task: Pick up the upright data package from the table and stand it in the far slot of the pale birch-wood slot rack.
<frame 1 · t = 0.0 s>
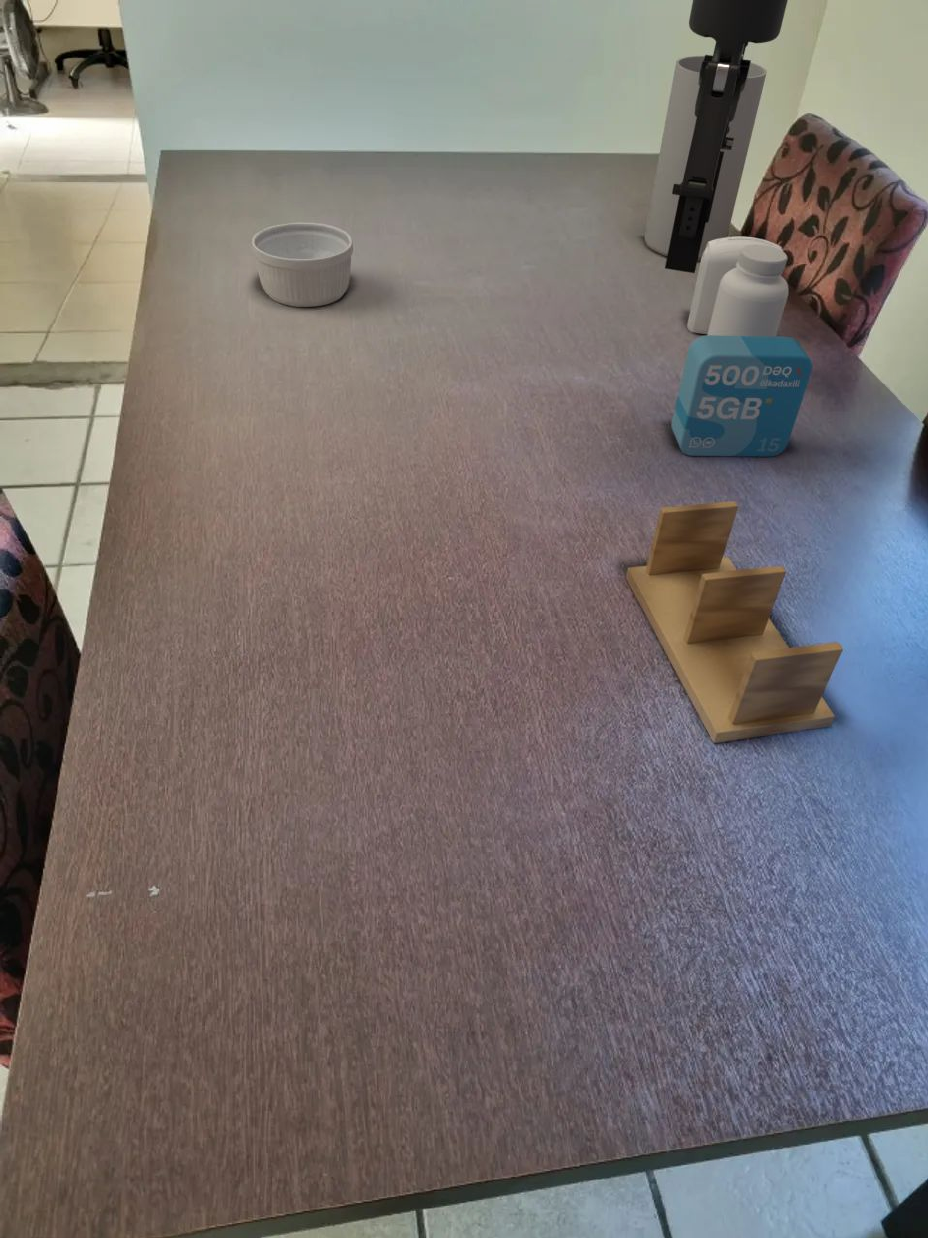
hand: (687, 243, 90), 21 cm above the table, tool pointing down, fingers open, 13 cm apart
data package: (725, 447, 104), on the table
slot rack: (720, 646, 80), on the table
ramekin: (305, 292, 128), on the table
pill bottle: (730, 374, 117), on the table
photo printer: (724, 332, 126), on the table
cylinder vase: (683, 247, 148), on the table
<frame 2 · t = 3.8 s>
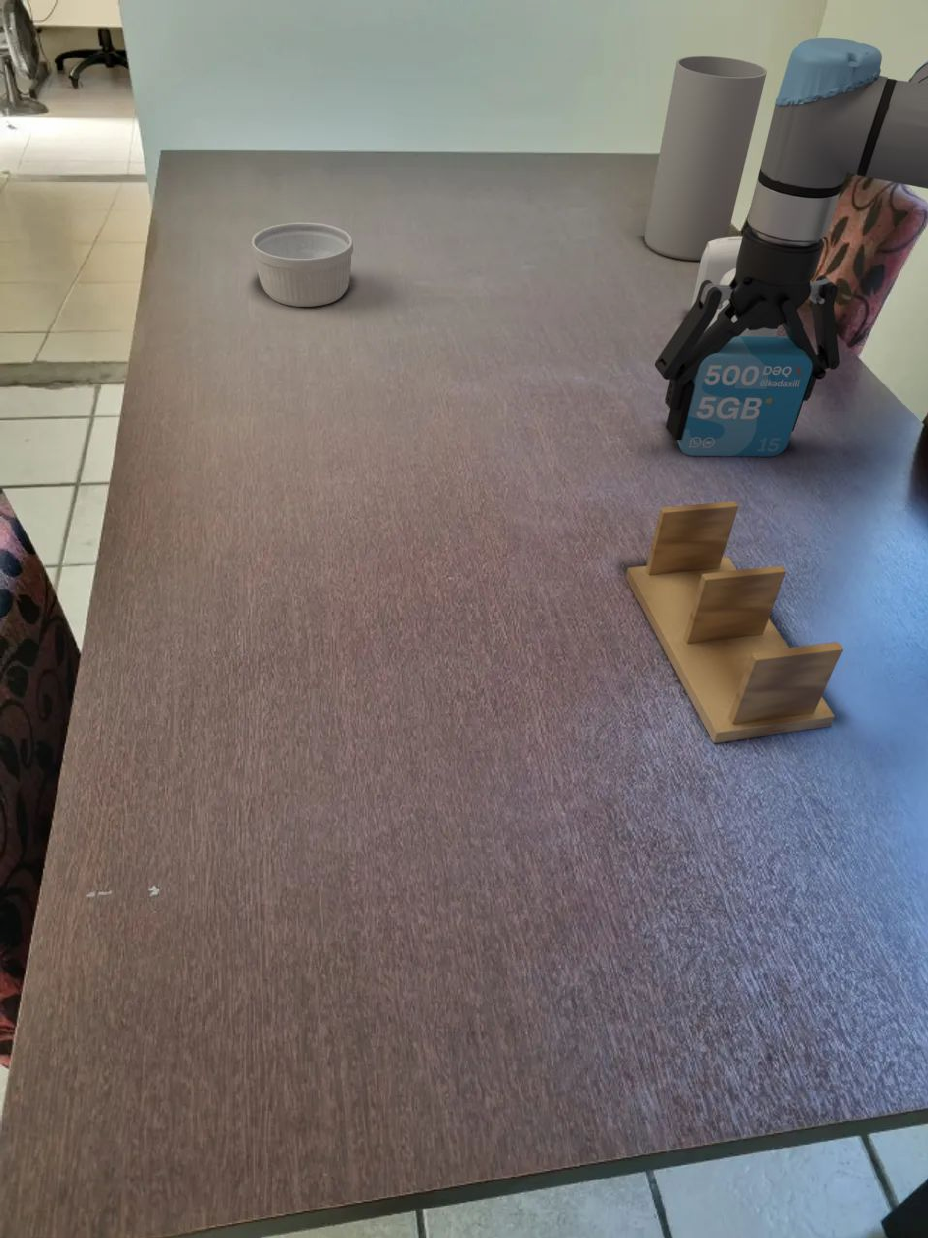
hand: (729, 429, 103), 2 cm above the table, tool pointing down, fingers closed on data package, 12 cm apart
data package: (724, 447, 104), on the table, touching gripper
everything else where it was.
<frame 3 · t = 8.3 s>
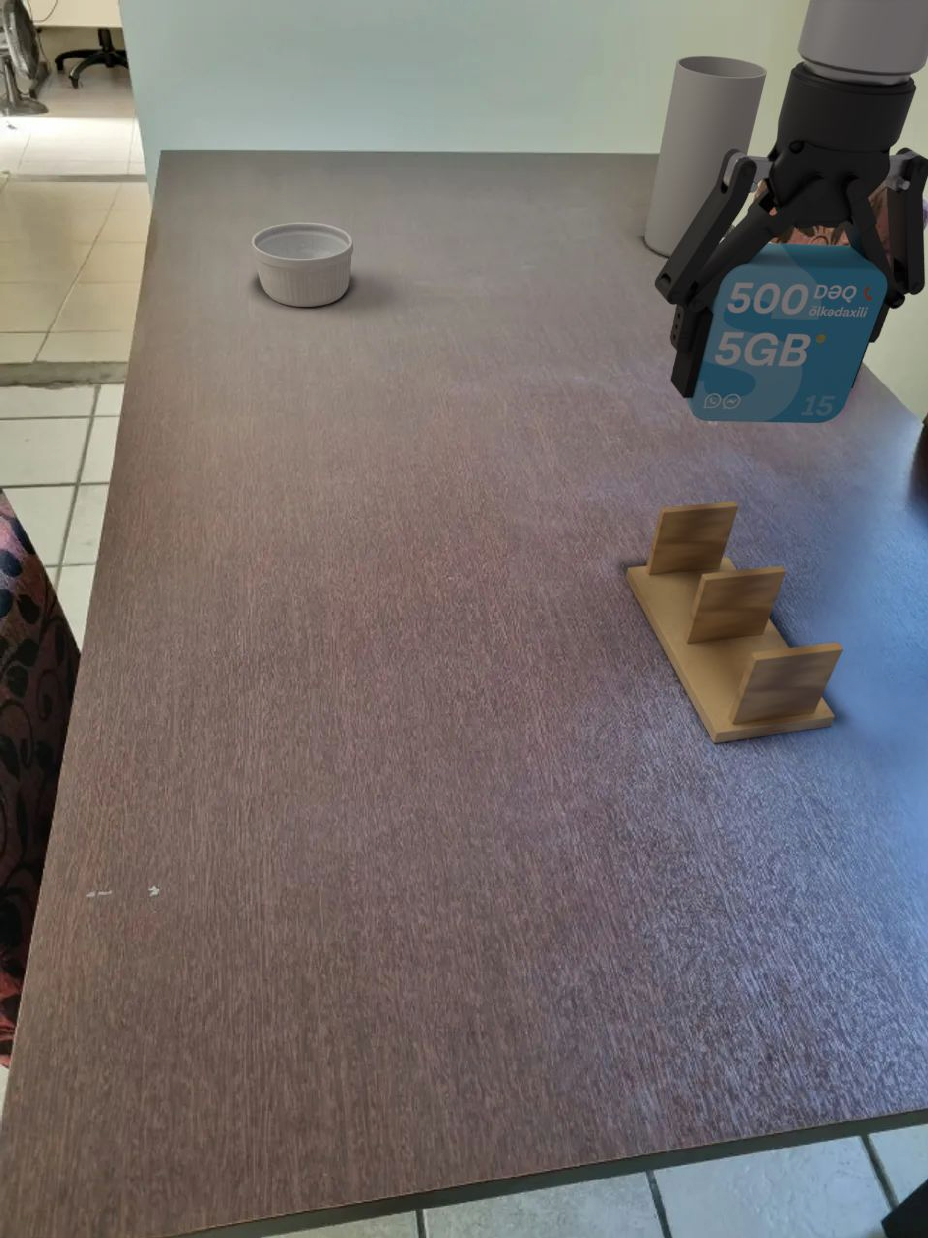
hand: (761, 384, 72), 21 cm above the table, tool pointing down, fingers closed on data package, 12 cm apart
data package: (754, 410, 73), point 18 cm above the table, touching gripper
everything else where it was.
when the fingers open (3 cm above the table, at t = 13.0 s): data package stays where it is, resting on slot rack.
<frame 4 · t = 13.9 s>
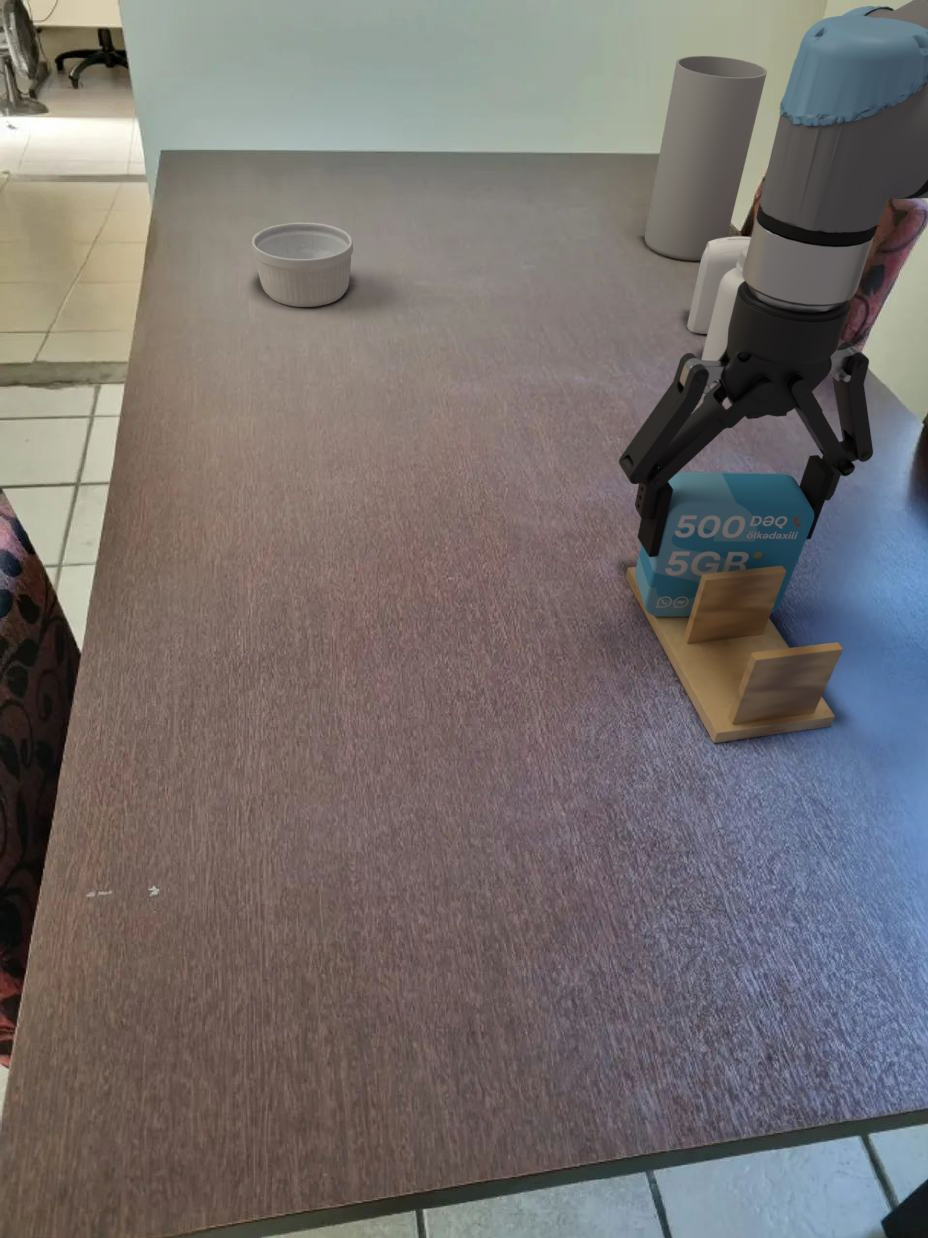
hand: (724, 538, 78), 8 cm above the table, tool pointing down, fingers open, 13 cm apart
data package: (702, 602, 83), point 1 cm above the table, touching slot rack
everything else where it was.
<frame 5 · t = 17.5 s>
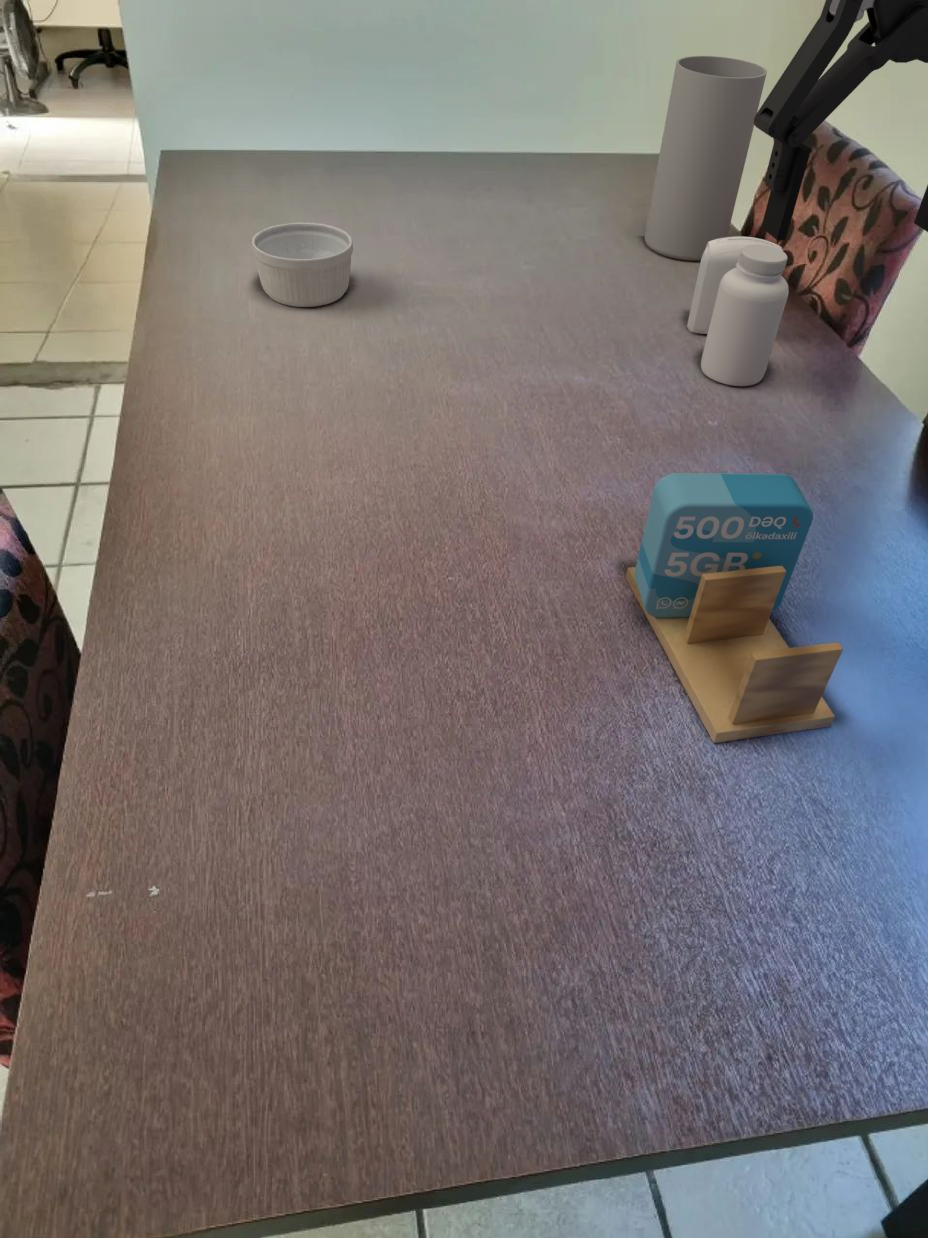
hand: (851, 231, 74), 29 cm above the table, tool pointing down, fingers open, 13 cm apart
nothing on the table moved.
at the end: data package 0.0 cm from the target spot on the slot rack, point 1.0 cm above the slot rack's base; data package tilted 0°; the gripper is holding nothing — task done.
